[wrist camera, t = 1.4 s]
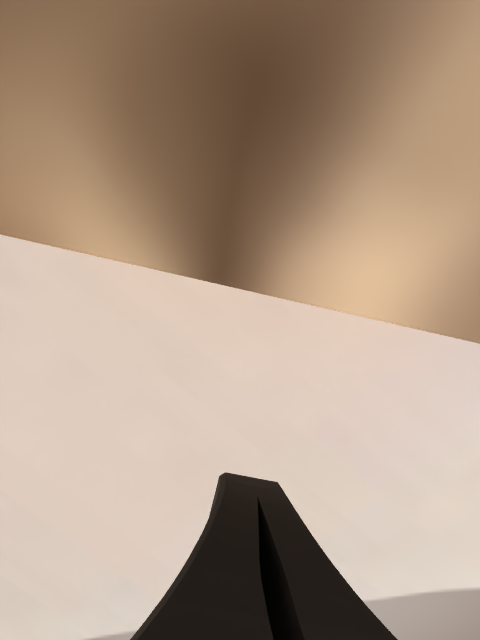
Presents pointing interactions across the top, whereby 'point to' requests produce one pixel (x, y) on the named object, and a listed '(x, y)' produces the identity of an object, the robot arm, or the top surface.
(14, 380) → the top surface
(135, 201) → the box lid
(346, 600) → the robot arm
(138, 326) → the top surface
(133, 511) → the top surface
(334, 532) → the top surface
